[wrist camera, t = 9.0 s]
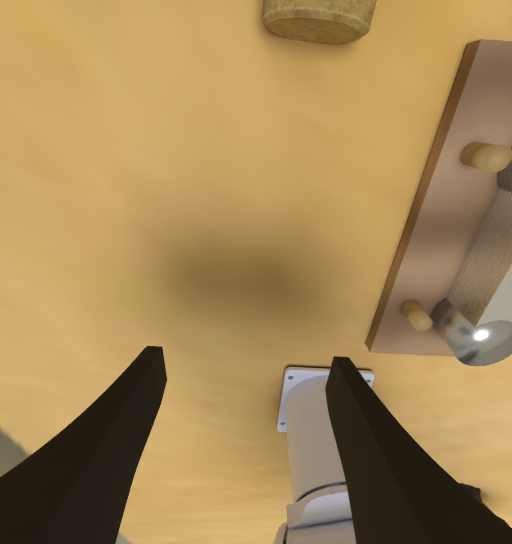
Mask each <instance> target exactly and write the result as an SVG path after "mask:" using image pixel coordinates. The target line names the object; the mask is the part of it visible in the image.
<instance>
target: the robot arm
mask: <svg viewBox="0 0 512 544" xmlns="http://www.w3.org/2000/svg"><path fill="white" fill-rule="evenodd" d="M374 378H375V375H374V373H373V372H372V371H365V370H358V369H357V368H356V367H355V365H354V364H353V362H352V361H351V360H350V358H349V357H335V356H334V358H333V362H332V365H331V369H324V368H304V367H288V368H287V369H286V370H285V376H284V382H283V389H282V396H281V402H280V409H279V415H278V422H277V430H278V431H279V432H287V442H288V455H289V467H290V480H291V492H292V497H293V501H294V504H290V505H287V506H286V507H287V523H283V524H282V525H281V526H280V527H279V529H278V531H277V534H276V537H275V540H274V542H273V544H512V528H511V527H509V526H508V525H507V524H506V523H504V522H503V521H502V520H500V519H499V518H498V517H497V516H496V515H494V514H493V513H492V512H491V511H490V510H488V509H487V508H486V507H485V506H484V505H483V504H481V503H480V502H479V501H478V500H477V499H475V498H474V497H473V496H472V495H471V494H470V493H469V492H467V491H466V490H465V489H464V488H463V487H462V486H461V485H460V484H459V483H458V482H457V481H455V480H454V479H453V478H452V477H451V476H450V475H449V474H448V473H447V472H446V471H445V470H444V469H442V468H441V467H440V466H439V465H438V464H437V463H436V462H435V461H434V460H433V459H432V458H431V457H430V456H429V455H428V454H427V453H426V452H425V451H424V450H423V449H422V448H421V447H420V446H419V445H418V443H417V442H416V441H415V440H414V439H413V438H412V437H411V436H410V435H409V434H408V433H407V431H406V430H405V429H404V428H403V427H402V426H401V425H400V423H399V422H398V421H397V420H396V419H395V418H394V416H393V415H392V414H391V413H390V412H389V410H388V409H387V408H386V407H385V405H384V404H383V403H382V402H381V400H380V399H379V398H378V396H377V395H376V394H375V393H374V391H373V390H372V389H371V386H372V383H373V381H374ZM166 382H167V376H166V369H165V362H164V356H163V349H162V347H157V346H147V347H146V348H145V349H144V350H143V351H142V352H141V353H140V354H139V355H138V357H137V358H136V359H135V360H134V361H133V362H132V363H131V364H130V366H129V367H128V368H127V369H126V370H125V371H124V372H123V373H122V374H121V375H120V376H119V377H118V378H117V379H116V380H115V382H114V383H113V384H112V385H111V386H110V387H109V388H108V389H107V390H106V391H105V392H104V393H103V394H102V395H101V396H100V397H99V398H98V399H97V400H95V401H94V402H93V403H92V404H91V405H90V406H89V407H88V408H87V409H86V410H85V411H84V412H83V413H82V414H81V415H79V416H78V417H77V418H76V419H75V420H74V421H73V422H72V423H70V424H69V425H68V426H67V427H66V428H64V429H63V430H62V431H61V432H60V433H59V434H57V435H56V436H55V437H54V438H52V439H51V440H50V441H49V442H47V443H46V444H45V445H43V446H42V447H41V448H40V449H38V450H37V451H36V452H35V453H33V454H32V455H31V456H29V457H28V458H27V459H25V460H24V461H23V462H21V463H20V464H18V465H17V466H15V467H14V468H13V469H11V470H10V471H8V472H7V473H6V474H4V475H3V476H1V477H0V544H115V543H116V539H117V535H118V531H119V528H120V524H121V520H122V517H123V513H124V509H125V506H126V502H127V499H128V495H129V492H130V488H131V485H132V481H133V478H134V475H135V472H136V469H137V466H138V463H139V460H140V457H141V455H142V452H143V450H144V447H145V444H146V442H147V439H148V437H149V434H150V431H151V429H152V426H153V424H154V421H155V418H156V416H157V413H158V410H159V408H160V405H161V401H162V398H163V394H164V390H165V386H166Z"/></svg>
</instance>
